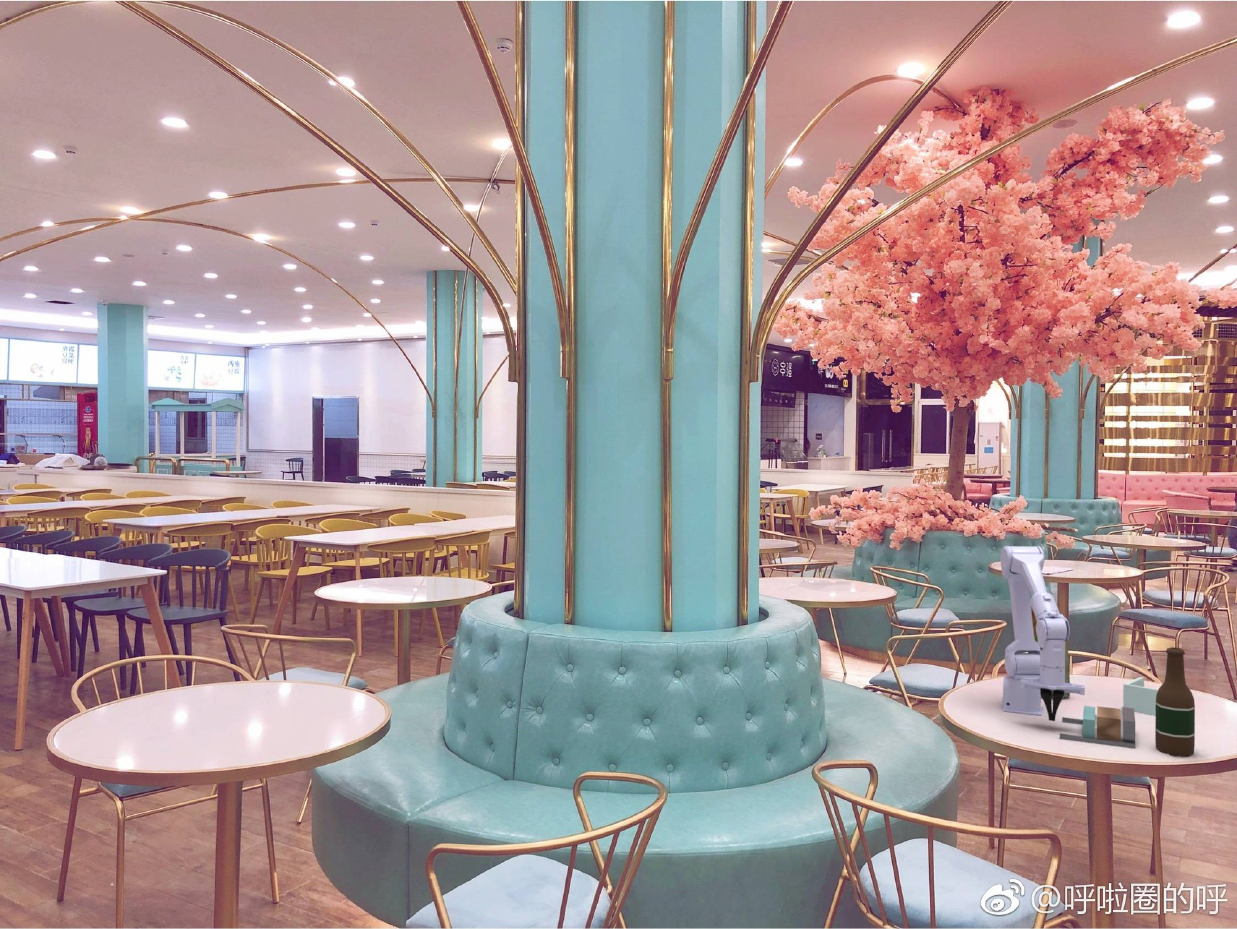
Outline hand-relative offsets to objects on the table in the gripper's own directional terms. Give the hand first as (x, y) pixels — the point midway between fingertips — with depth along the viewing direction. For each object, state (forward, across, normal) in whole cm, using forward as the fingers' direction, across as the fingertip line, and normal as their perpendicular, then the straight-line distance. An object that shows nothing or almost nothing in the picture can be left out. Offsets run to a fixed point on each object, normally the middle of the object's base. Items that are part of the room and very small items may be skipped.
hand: (1052, 719), depth 231 cm
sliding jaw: (+2, +8, 0) cm, 9 cm away
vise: (+2, +9, 0) cm, 9 cm away
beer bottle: (+2, +26, -6) cm, 27 cm away
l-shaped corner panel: (+3, +24, +31) cm, 40 cm away
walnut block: (+2, +12, 0) cm, 13 cm away
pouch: (+3, -3, +35) cm, 35 cm away
